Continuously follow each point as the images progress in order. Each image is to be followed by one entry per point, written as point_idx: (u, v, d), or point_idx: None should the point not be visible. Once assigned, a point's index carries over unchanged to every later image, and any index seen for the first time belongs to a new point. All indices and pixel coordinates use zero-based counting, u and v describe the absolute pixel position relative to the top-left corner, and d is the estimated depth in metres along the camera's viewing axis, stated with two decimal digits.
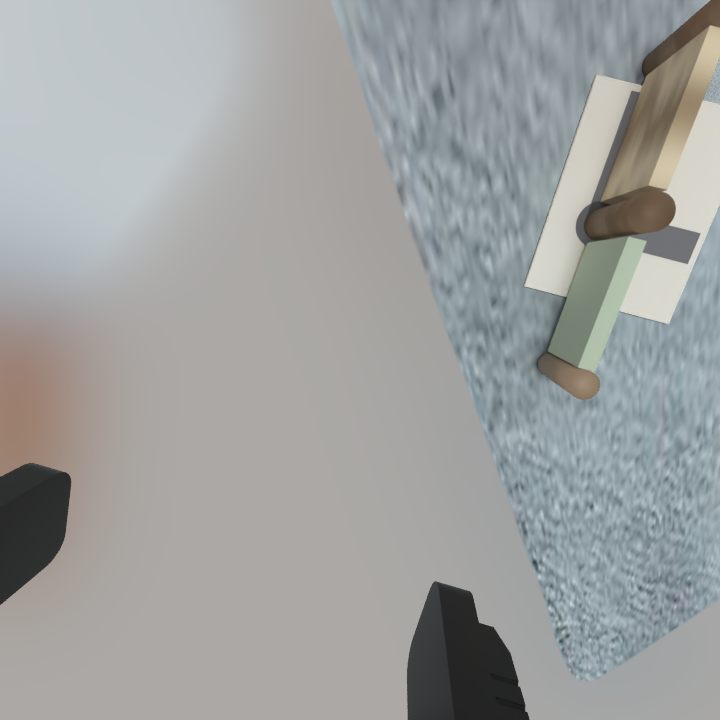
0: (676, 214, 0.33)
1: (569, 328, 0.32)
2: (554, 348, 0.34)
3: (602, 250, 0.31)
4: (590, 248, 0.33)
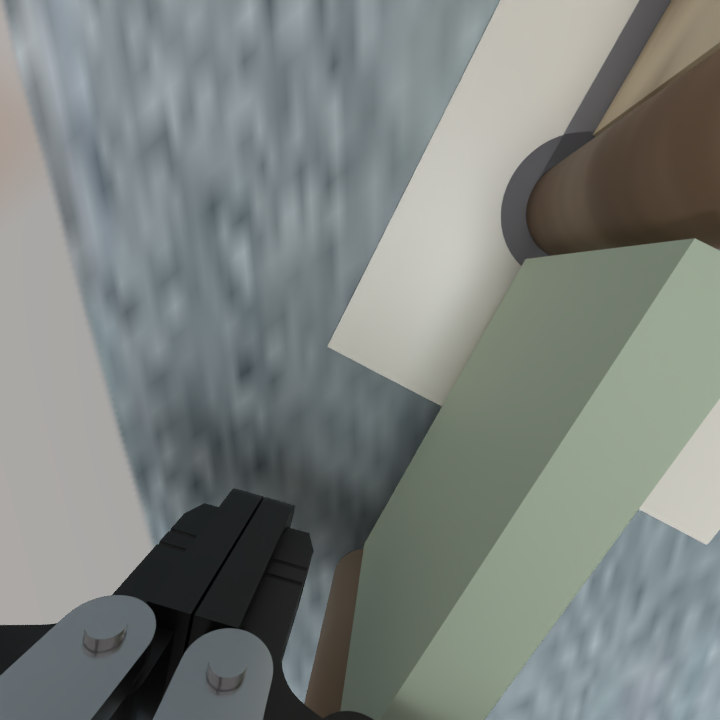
0: None
1: (399, 537, 0.09)
2: (367, 558, 0.11)
3: (553, 293, 0.07)
4: (526, 276, 0.10)
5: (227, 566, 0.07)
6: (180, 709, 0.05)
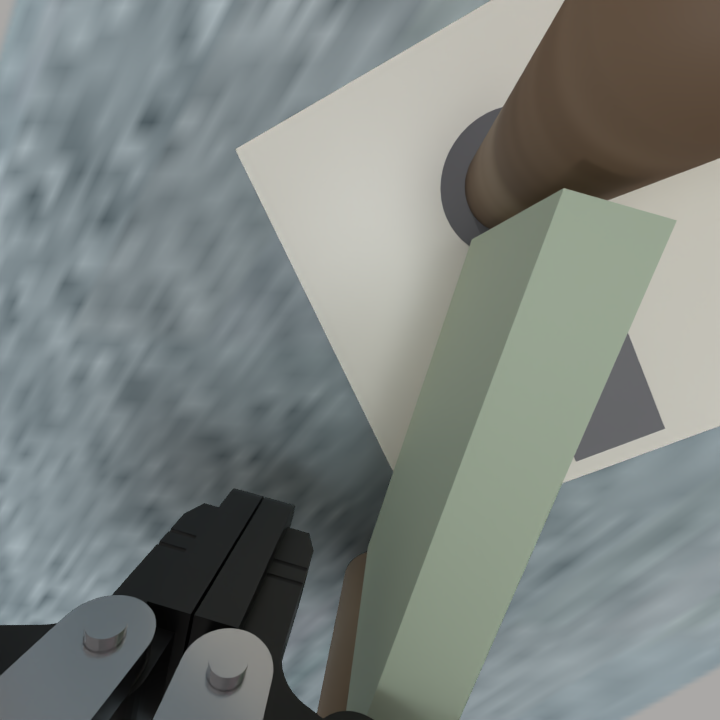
0: (669, 338, 0.11)
1: (387, 533, 0.09)
2: (369, 560, 0.11)
3: (484, 267, 0.08)
4: (471, 256, 0.10)
5: (227, 566, 0.07)
6: (180, 710, 0.05)
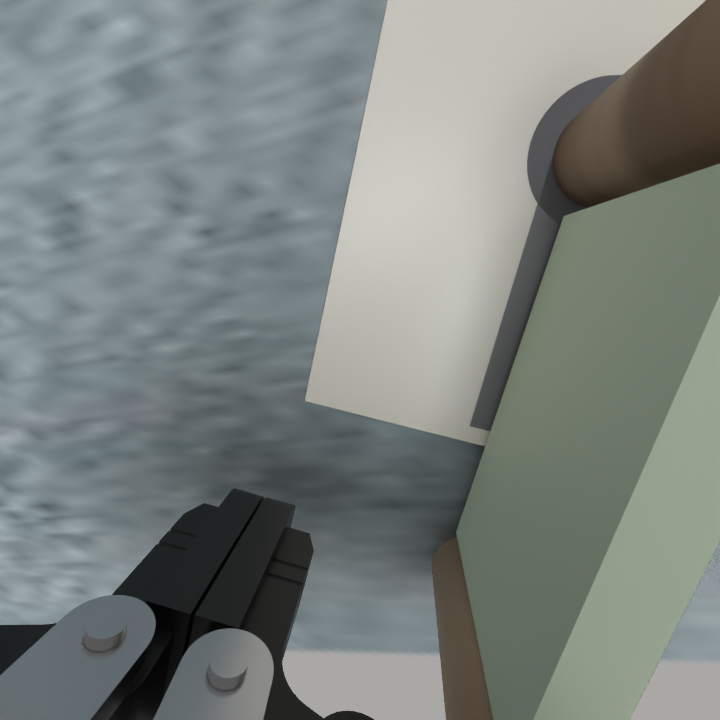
0: None
1: (501, 515, 0.09)
2: (466, 544, 0.11)
3: (615, 239, 0.07)
4: (572, 232, 0.09)
5: (227, 566, 0.07)
6: (180, 709, 0.05)
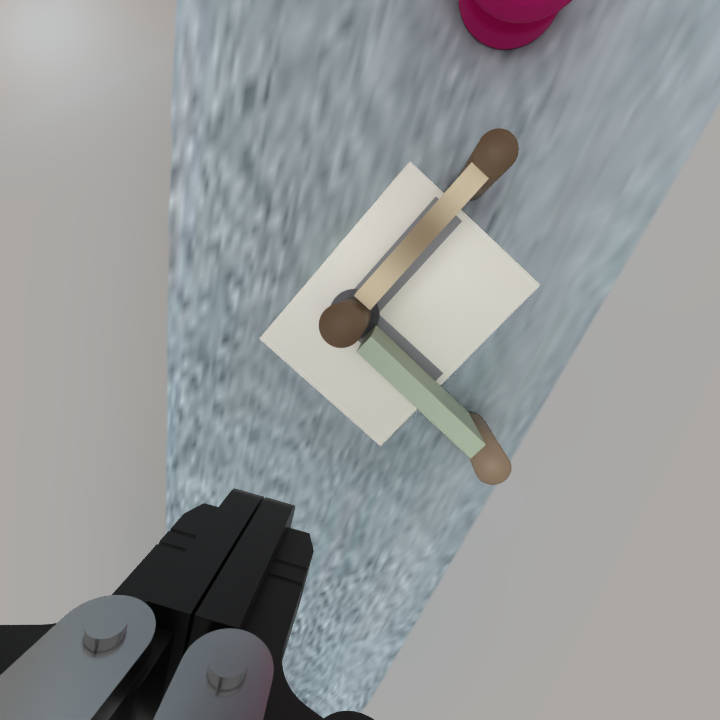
0: (429, 342, 0.30)
1: None
2: None
3: None
4: None
5: (227, 566, 0.07)
6: (180, 710, 0.05)
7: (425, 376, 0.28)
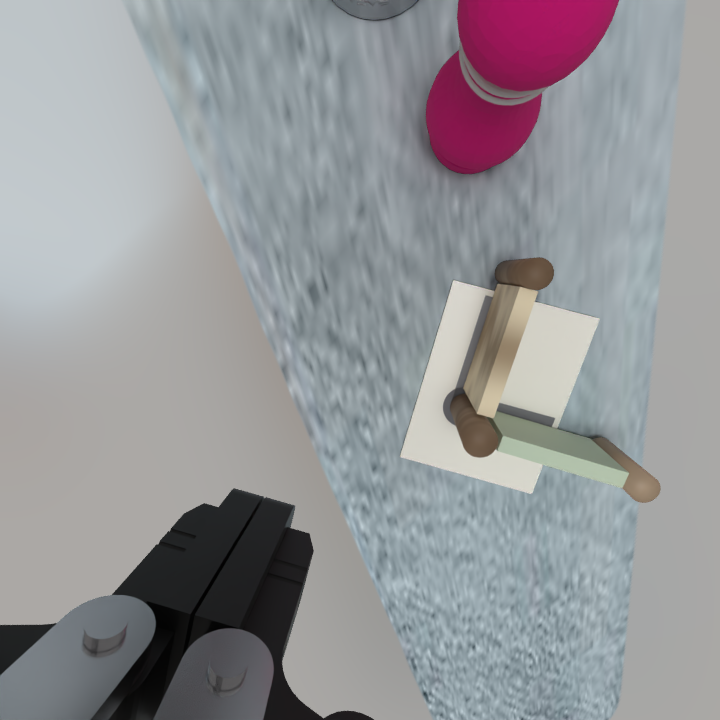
0: (532, 401, 0.36)
1: None
2: None
3: None
4: None
5: (227, 566, 0.07)
6: (180, 710, 0.05)
7: (547, 433, 0.33)
